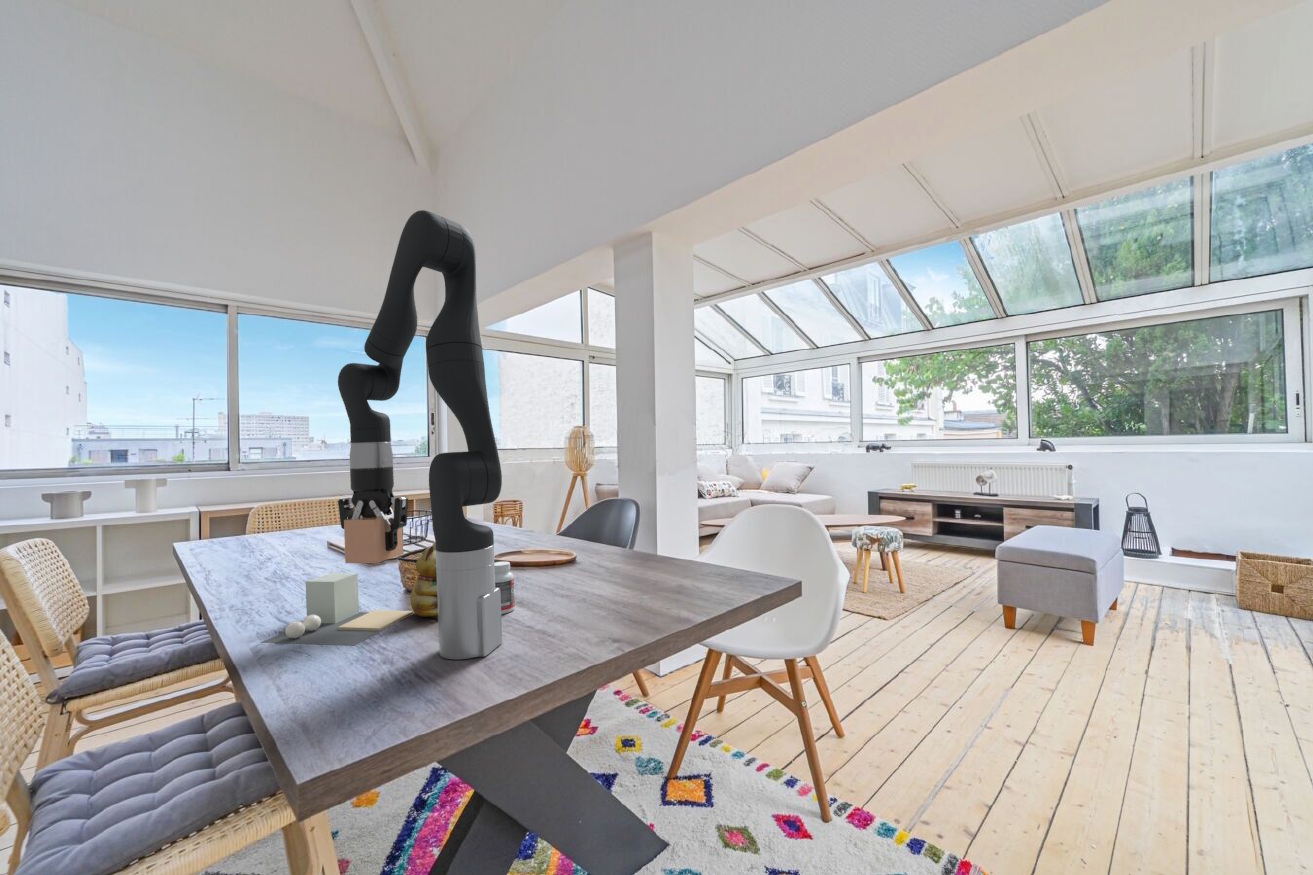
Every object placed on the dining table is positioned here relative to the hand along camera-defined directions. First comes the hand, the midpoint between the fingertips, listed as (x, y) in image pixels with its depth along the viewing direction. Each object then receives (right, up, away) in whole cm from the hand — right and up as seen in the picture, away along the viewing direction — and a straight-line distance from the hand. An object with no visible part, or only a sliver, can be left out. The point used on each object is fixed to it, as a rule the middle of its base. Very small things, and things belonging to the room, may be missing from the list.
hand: (374, 550), depth 105 cm
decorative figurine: (+10, -14, +3) cm, 18 cm away
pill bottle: (+24, -14, +5) cm, 28 cm away
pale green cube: (-10, -14, +3) cm, 18 cm away
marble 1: (-10, -14, -8) cm, 19 cm away
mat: (-5, -15, -3) cm, 16 cm away
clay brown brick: (0, -2, 0) cm, 2 cm away
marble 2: (-10, -14, -4) cm, 18 cm away
